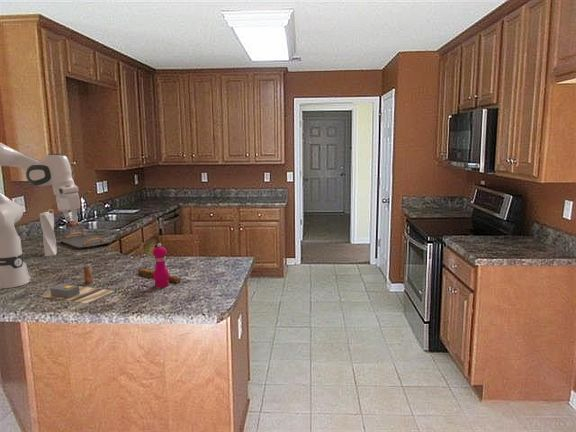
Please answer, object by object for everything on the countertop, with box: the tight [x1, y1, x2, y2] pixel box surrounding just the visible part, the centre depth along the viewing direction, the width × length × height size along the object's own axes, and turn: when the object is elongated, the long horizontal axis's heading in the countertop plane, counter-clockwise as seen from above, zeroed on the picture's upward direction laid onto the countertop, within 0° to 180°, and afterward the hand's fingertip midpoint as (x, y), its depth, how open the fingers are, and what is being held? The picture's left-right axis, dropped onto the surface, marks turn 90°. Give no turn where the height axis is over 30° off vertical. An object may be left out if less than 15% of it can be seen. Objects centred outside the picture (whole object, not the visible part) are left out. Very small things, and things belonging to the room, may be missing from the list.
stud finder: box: [49, 283, 80, 298], centre depth 191 cm, size 10×6×4 cm, turn 68°
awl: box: [83, 258, 94, 285], centre depth 206 cm, size 3×3×13 cm
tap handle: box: [137, 268, 182, 284], centre depth 216 cm, size 3×3×30 cm
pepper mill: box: [152, 243, 170, 288], centre depth 203 cm, size 7×7×20 cm
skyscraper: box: [38, 208, 58, 257], centre depth 265 cm, size 8×8×28 cm
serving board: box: [58, 231, 113, 251], centre depth 295 cm, size 39×23×6 cm, turn 46°
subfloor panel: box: [40, 285, 115, 304], centre depth 192 cm, size 26×16×1 cm, turn 68°
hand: (71, 220), depth 196 cm, fingers open, 8 cm apart
